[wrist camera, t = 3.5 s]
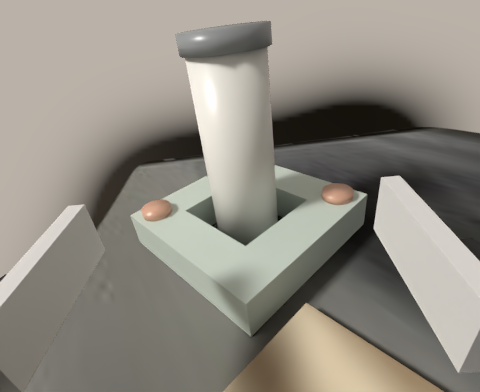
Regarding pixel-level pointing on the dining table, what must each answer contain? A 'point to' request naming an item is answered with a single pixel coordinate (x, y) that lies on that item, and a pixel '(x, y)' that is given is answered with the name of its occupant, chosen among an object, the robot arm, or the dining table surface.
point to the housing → (251, 243)
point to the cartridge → (235, 123)
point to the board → (324, 362)
